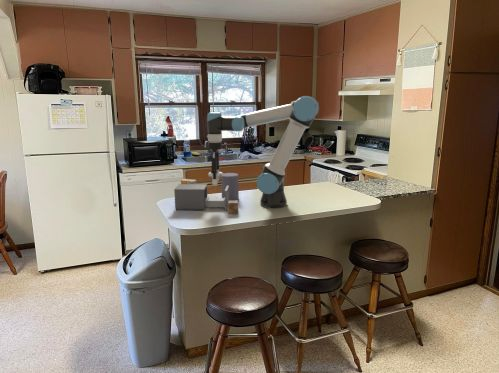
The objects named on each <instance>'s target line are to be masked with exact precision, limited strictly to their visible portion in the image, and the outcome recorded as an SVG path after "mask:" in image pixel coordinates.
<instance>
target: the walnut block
mask: <svg viewBox="0 0 499 373" xmlns="http://www.w3.org/2000/svg"><path fill="white" fill-rule="evenodd" d="M227 214H228V215H229V214H230V215H238V214H239V199H237V200H229V202H228V210H227Z"/></svg>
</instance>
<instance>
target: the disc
mask: <svg viewBox="0 0 499 373" xmlns="http://www.w3.org/2000/svg"><path fill="white" fill-rule="evenodd" d="M223 174H224V172H222V171H219V172H217V177H219V178H221V177H222V176H223ZM207 175H208V178H212V173H211V171H210V172H208V173H207Z"/></svg>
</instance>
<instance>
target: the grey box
mask: <svg viewBox="0 0 499 373" xmlns="http://www.w3.org/2000/svg"><path fill="white" fill-rule="evenodd" d="M173 191H174V208H175V209H174V210H176V211H177V212H178V211H179V212H181V211H182V212H183V211H191V212H192V211H193V212H194V211H195V212H203V211H204V212H205V210H206V209H207V207H205V202H204V198H208V184H207V183H204V184H202V183H201V184H200V183H196V184H181V183H180V184H178V185H177V186H176V187H175V188H174V189H173Z"/></svg>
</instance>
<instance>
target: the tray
mask: <svg viewBox="0 0 499 373" xmlns="http://www.w3.org/2000/svg"><path fill="white" fill-rule="evenodd" d="M204 202H205V207H206V208H224V211H228V202H229V186H226V189H225V198H222V197H210V196H207V198H204Z"/></svg>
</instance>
